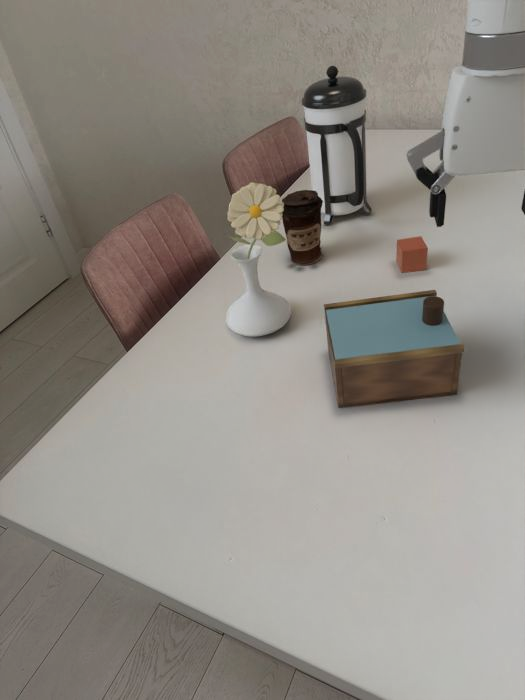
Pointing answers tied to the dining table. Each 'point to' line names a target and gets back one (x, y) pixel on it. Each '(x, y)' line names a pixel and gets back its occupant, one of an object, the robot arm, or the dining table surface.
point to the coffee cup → (303, 226)
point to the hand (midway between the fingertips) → (482, 218)
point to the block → (411, 254)
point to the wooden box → (394, 368)
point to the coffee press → (337, 143)
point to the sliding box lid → (390, 327)
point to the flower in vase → (256, 260)
